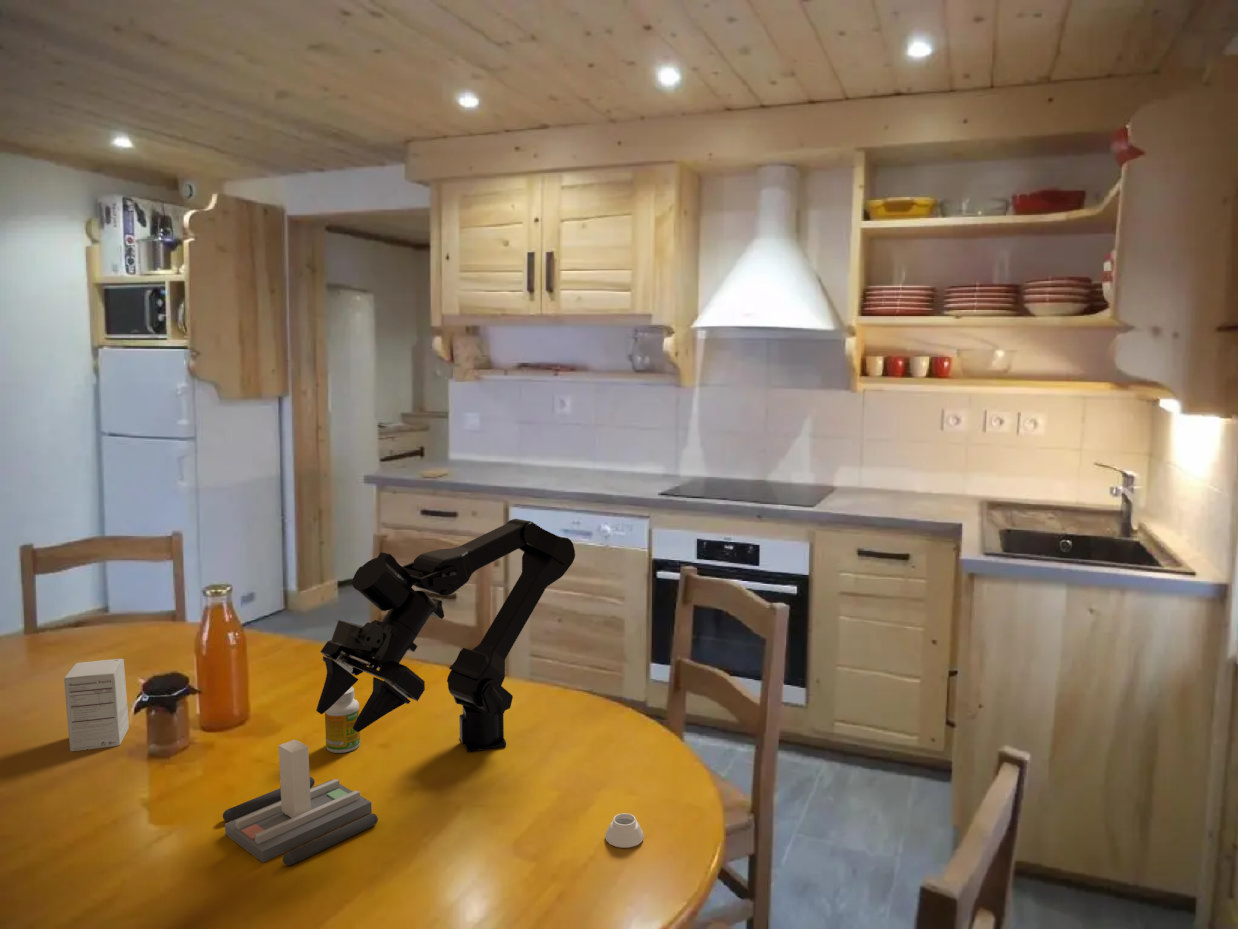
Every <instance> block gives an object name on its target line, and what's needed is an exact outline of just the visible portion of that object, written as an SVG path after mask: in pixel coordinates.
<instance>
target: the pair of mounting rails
mask: <svg viewBox="0 0 1238 929" xmlns="http://www.w3.org/2000/svg"><path fill="white" fill-rule="evenodd" d="M315 782H316V781H315V779H314V777H313V776H310V788H313V787H314V786H315ZM279 801H281V787H280V788H277V789H275V790H272V791H270V792H267V793H264V794H262V795H260V796H258V797H255V798H252V799H249V800H247V801H245V802H242V803H240V804H237V805H235V806H233V807H229V808H228V809H225V810H224V811H223V813H222V819H223V820H224V821H226V822H230V821H233V820H235V819H238V818H240V817H243V816H245V815H247V814H250V813H252V812H255V811H257V810H259V809H262V808H264V807H267V806H269V805H272V804H274V803H276V802H279ZM378 820H379V818H378V815H376V814H375V813H369V814H367V815H364V816H362V817H360V818H358V819H356V820H354V821H351V822H349V823H347V824H345V825H343V826H341V827H338V828H336V829H334V830H332V831H330V832H328V833H326V834H323V835H321V836H319V837H317V838H315V839H313V840H310V841H308V842H306V843H304V844H302V845H300V846H298V847H295V848H293V849H291V850H289V851H287V852H285V854H284V855H283V857H282V862H283V864H284V865H285V866H288V867H289V866H292V865H294V864H296V863H298V862H301V861H303V860H306V859H308V858H309V857H311V856H313V855H315V854H317V853H320V852H322V851H324V850H326V849H328V848H330V847H332V846H334V845H337V844H339V843H340V842H342V841H344V840H347V839H349V838H351V837H353V836H355V835H357V834H359V833H362V832H363V831H365V830H368V829H370V828H371V827H374V826H376V824H378Z"/></svg>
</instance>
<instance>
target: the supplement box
mask: <svg viewBox="0 0 1238 929" xmlns="http://www.w3.org/2000/svg"><path fill="white" fill-rule="evenodd" d="M63 682H64V683H63V684H64V693H65V694H64V695H65V705H66V706H65V707H66V708H65V709H66V717H67V720H66V721H67V729H68V739H69V741H68V742H69V751H70V752H77V751H87V749H88V751H89V750H94V749H95V750H96V749H103V748H113V747H118V746H121V743H122V741H123V740H124V738H125V736H126V734H127V732H128V730H129V728H130V723H129V712H128V711H129V710H128V699H127V683H126V672H125V659H124V658H113V659H103V660H95V661H94V660H93V661H83V662H76V663H75V664H74V665H73V667H72V668H71V669H70V670H69V672H68V673H67V674H66V675H65V676H64V678H63Z"/></svg>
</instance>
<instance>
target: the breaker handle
mask: <svg viewBox="0 0 1238 929" xmlns="http://www.w3.org/2000/svg"><path fill="white" fill-rule="evenodd" d="M309 754H310V753H309V746H308V745H306V744H304V743H303V742H300V741H299V740H297V739H292V740H290V741H288V742H283V743H281V744H278V759H279V760H278V762H279V763H278V764H279V781H280V788H281V800H280V801H281V807H282V812H283V813H285V814H286V815H288V816H290V817H291V818H294V817H296V816H298V815H301V814H303V813H305V812H308V811H310V810H311V799H310V777H311V776H310V755H309Z"/></svg>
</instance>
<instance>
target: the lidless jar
mask: <svg viewBox="0 0 1238 929" xmlns="http://www.w3.org/2000/svg"><path fill="white" fill-rule="evenodd" d="M610 822H611V823H610V824H609V826H608V828H607V829H606V832H605V833H604V834H605V840H606V842H608V844H609V845H612V846H614V847H616V848H634V847H637V846H638V845H639V844H641V843H642V841H643V840H644V832H643V829H642V828H641V826H640V823H639V822H638V821H637V818H636V817H635V816H634V815H633V814H631V813H624V812H622V813H618V814H616V815H614V816H613V820H612V821H610Z"/></svg>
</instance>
